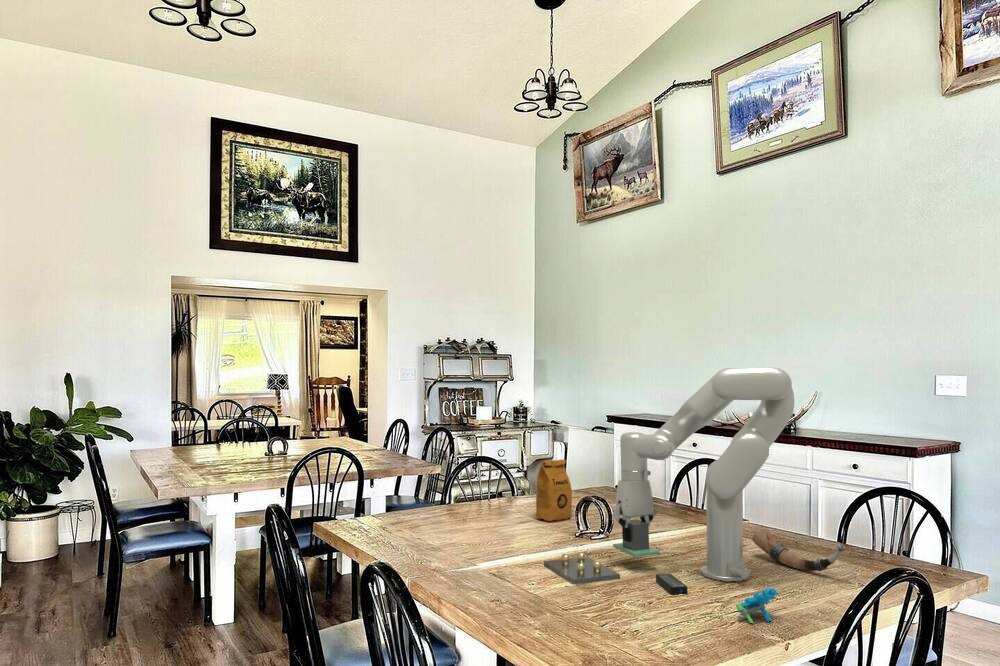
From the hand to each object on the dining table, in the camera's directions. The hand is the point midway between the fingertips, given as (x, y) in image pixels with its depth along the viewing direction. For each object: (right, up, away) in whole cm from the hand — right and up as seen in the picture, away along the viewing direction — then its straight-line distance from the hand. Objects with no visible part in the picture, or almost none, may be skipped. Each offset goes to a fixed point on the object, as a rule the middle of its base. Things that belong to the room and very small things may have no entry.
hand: (635, 539), depth 197 cm
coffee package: (-19, -10, +58) cm, 62 cm away
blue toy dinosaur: (+20, -6, -40) cm, 45 cm away
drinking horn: (+46, -8, -1) cm, 47 cm away
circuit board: (0, -3, 0) cm, 3 cm away
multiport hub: (+5, -7, -19) cm, 21 cm away
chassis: (-16, -7, -6) cm, 19 cm away
